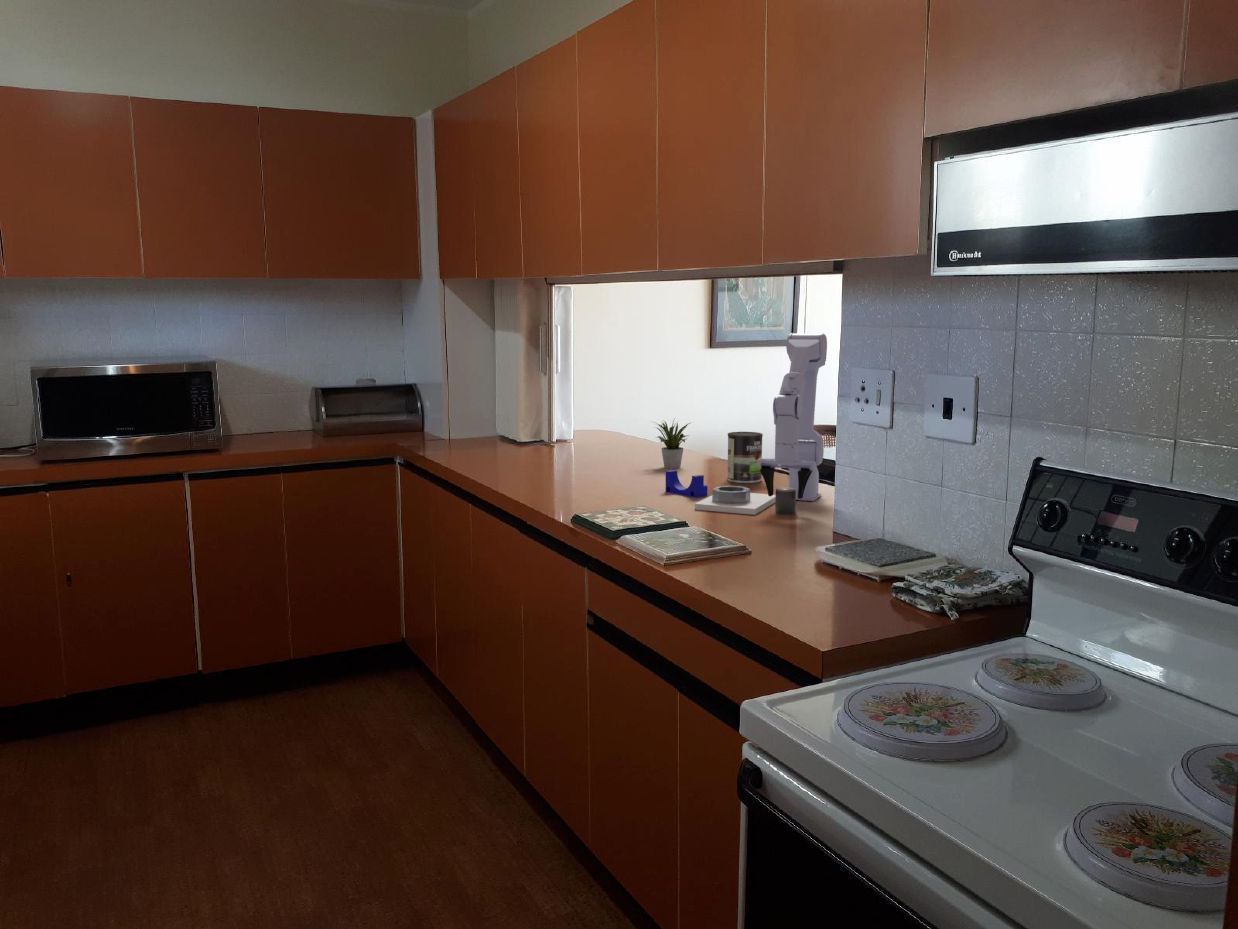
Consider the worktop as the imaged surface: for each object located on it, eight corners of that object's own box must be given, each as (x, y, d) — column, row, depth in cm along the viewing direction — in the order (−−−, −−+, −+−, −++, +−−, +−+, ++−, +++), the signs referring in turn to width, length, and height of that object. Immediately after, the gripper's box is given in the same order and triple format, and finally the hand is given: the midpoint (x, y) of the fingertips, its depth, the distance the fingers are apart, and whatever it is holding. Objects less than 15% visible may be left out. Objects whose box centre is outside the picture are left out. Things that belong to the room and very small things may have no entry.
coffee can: (769, 480, 295) (770, 433, 292) (745, 484, 288) (745, 436, 286) (743, 476, 302) (744, 430, 300) (719, 480, 296) (720, 433, 294)
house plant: (640, 469, 315) (640, 418, 313) (652, 463, 328) (652, 414, 326) (684, 471, 311) (684, 420, 308) (694, 465, 324) (695, 415, 321)
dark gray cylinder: (778, 509, 253) (778, 486, 252) (797, 511, 251) (798, 488, 250) (772, 513, 248) (773, 490, 247) (792, 515, 246) (792, 491, 245)
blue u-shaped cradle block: (707, 496, 272) (707, 474, 271) (695, 498, 269) (695, 476, 268) (677, 490, 281) (677, 469, 280) (665, 492, 278) (665, 471, 277)
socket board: (721, 496, 271) (721, 479, 271) (778, 500, 264) (778, 484, 264) (694, 509, 253) (694, 492, 253) (754, 514, 247) (755, 497, 246)
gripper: (753, 443, 246) (752, 497, 248) (811, 446, 240) (809, 501, 242) (762, 440, 252) (761, 492, 255) (818, 443, 246) (817, 496, 248)
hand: (785, 496), depth 249 cm, fingers open, 7 cm apart
